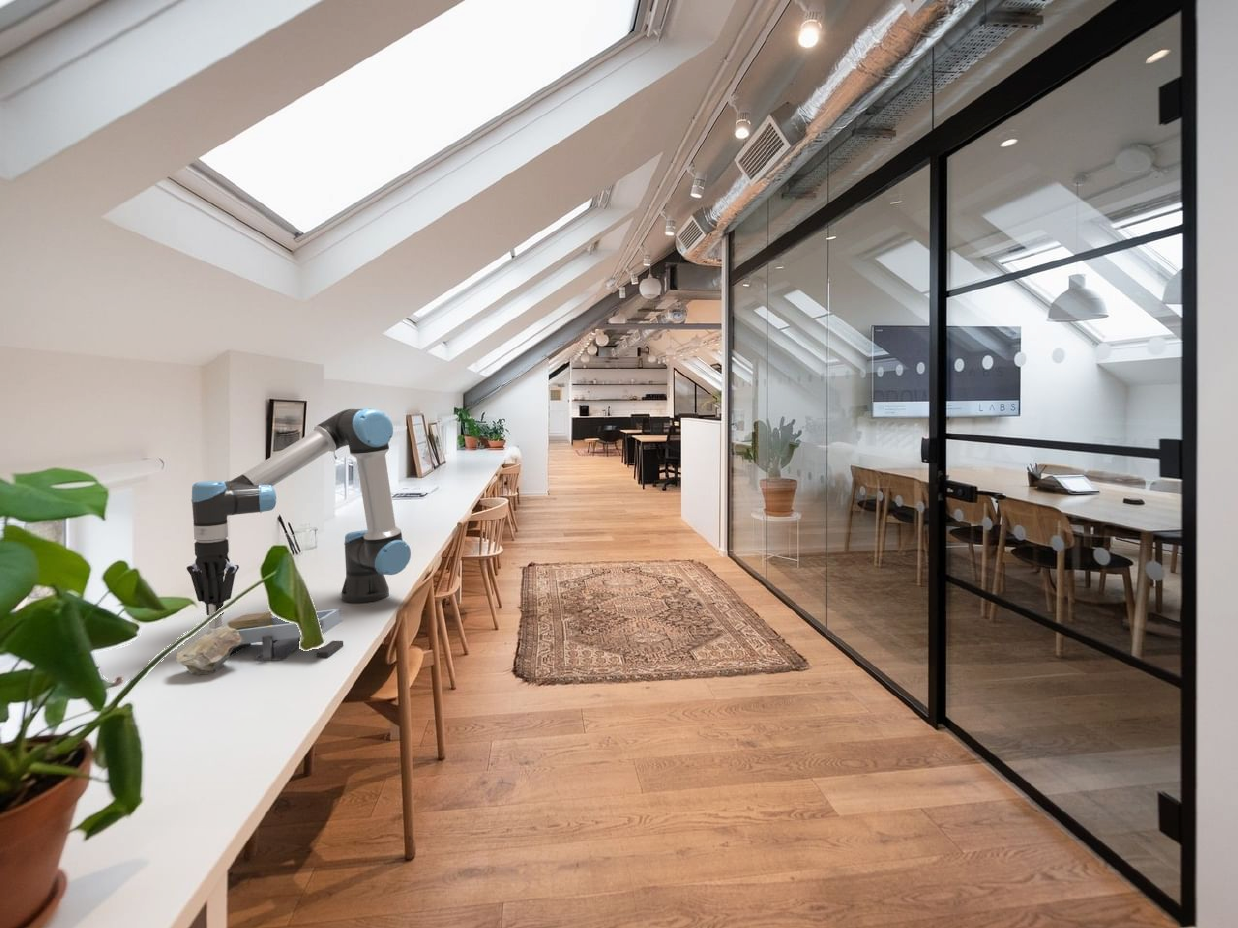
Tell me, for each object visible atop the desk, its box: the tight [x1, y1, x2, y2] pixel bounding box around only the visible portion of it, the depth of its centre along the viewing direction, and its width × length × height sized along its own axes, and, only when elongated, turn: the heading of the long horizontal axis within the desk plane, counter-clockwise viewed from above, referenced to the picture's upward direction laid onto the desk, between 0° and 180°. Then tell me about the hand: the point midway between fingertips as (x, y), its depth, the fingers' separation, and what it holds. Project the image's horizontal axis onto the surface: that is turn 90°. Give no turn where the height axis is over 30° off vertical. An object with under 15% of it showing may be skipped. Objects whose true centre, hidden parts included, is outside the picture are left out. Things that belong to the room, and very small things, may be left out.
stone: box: [175, 625, 243, 675], centre depth 151 cm, size 11×14×10 cm
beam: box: [237, 608, 343, 644], centre depth 164 cm, size 12×28×4 cm, turn 87°
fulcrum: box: [229, 636, 344, 662], centre depth 164 cm, size 14×29×6 cm, turn 87°
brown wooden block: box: [227, 611, 273, 630], centre depth 165 cm, size 6×8×4 cm
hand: (215, 626), depth 165 cm, fingers closed
